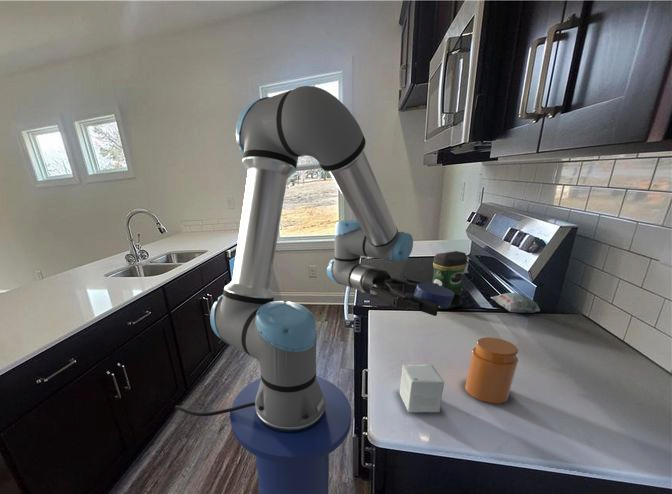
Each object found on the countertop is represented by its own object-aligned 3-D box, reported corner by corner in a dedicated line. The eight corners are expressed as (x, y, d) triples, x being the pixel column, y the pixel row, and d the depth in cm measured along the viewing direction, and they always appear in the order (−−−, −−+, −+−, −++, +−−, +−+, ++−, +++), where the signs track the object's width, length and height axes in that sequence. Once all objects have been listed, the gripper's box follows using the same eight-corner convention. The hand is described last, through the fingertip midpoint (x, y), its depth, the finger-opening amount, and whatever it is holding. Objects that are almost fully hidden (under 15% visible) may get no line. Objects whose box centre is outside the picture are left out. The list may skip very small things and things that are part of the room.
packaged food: (508, 317, 98) (512, 302, 96) (489, 302, 108) (492, 289, 107) (539, 317, 96) (543, 302, 95) (516, 302, 107) (520, 289, 105)
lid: (447, 297, 76) (451, 287, 75) (453, 309, 69) (457, 299, 68) (412, 289, 78) (415, 280, 77) (415, 301, 71) (418, 290, 70)
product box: (440, 413, 62) (445, 382, 59) (407, 413, 62) (411, 382, 60) (428, 393, 67) (432, 363, 65) (398, 393, 68) (402, 363, 65)
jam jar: (492, 408, 62) (504, 359, 58) (457, 387, 69) (465, 341, 64) (516, 396, 65) (529, 348, 61) (480, 376, 71) (490, 332, 67)
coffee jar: (445, 299, 114) (453, 248, 107) (464, 306, 106) (473, 252, 100) (423, 303, 111) (429, 251, 104) (440, 311, 104) (448, 256, 97)
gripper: (394, 285, 95) (471, 308, 77) (342, 301, 86) (416, 333, 67) (396, 260, 93) (477, 279, 74) (343, 275, 83) (420, 300, 65)
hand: (448, 305), depth 71 cm, fingers closed on lid, 8 cm apart
